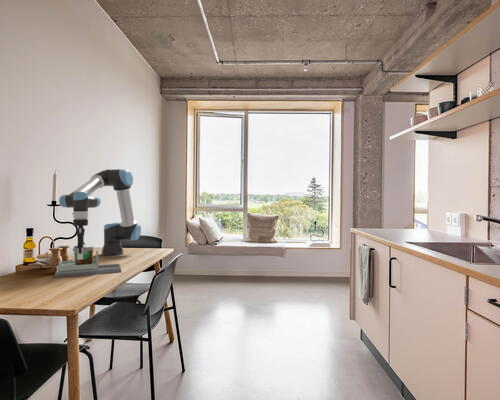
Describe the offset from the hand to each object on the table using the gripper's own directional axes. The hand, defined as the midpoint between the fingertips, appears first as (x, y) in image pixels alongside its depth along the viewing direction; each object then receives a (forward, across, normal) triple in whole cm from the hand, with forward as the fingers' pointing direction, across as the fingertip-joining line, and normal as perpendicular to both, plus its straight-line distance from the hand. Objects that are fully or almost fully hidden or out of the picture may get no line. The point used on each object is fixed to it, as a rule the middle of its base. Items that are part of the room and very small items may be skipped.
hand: (80, 257), depth 193 cm
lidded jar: (+8, -21, -19) cm, 30 cm away
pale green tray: (+6, 0, -1) cm, 6 cm away
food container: (+4, +1, 0) cm, 4 cm away
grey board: (+8, 0, +4) cm, 9 cm away
